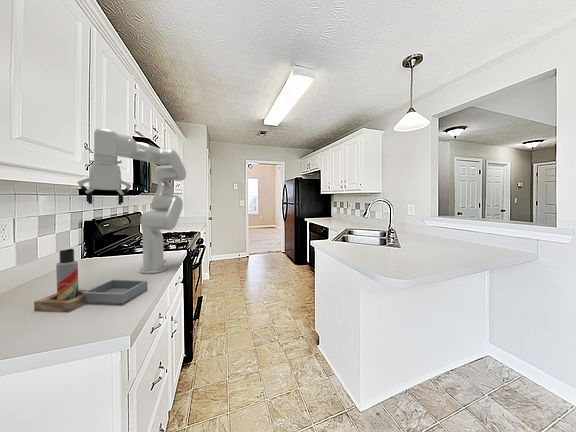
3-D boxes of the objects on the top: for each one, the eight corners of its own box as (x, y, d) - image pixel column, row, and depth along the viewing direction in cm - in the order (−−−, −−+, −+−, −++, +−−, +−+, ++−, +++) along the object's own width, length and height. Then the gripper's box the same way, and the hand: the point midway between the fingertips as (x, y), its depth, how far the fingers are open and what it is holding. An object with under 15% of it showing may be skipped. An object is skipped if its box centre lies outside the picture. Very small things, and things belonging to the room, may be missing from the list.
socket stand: (67, 296, 94) (67, 289, 94) (97, 297, 94) (97, 290, 94) (34, 310, 82) (34, 301, 82) (69, 311, 82) (69, 303, 82)
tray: (112, 288, 104) (112, 279, 103) (147, 290, 103) (147, 280, 103) (81, 303, 89) (81, 292, 88) (122, 305, 88) (122, 294, 88)
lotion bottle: (66, 308, 85) (64, 250, 84) (53, 306, 86) (51, 249, 85) (82, 301, 90) (81, 247, 89) (70, 299, 92) (68, 246, 90)
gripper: (132, 165, 106) (131, 205, 106) (80, 160, 97) (80, 203, 98) (130, 162, 99) (130, 205, 100) (75, 157, 91) (75, 203, 91)
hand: (105, 204), depth 99 cm, fingers open, 9 cm apart
